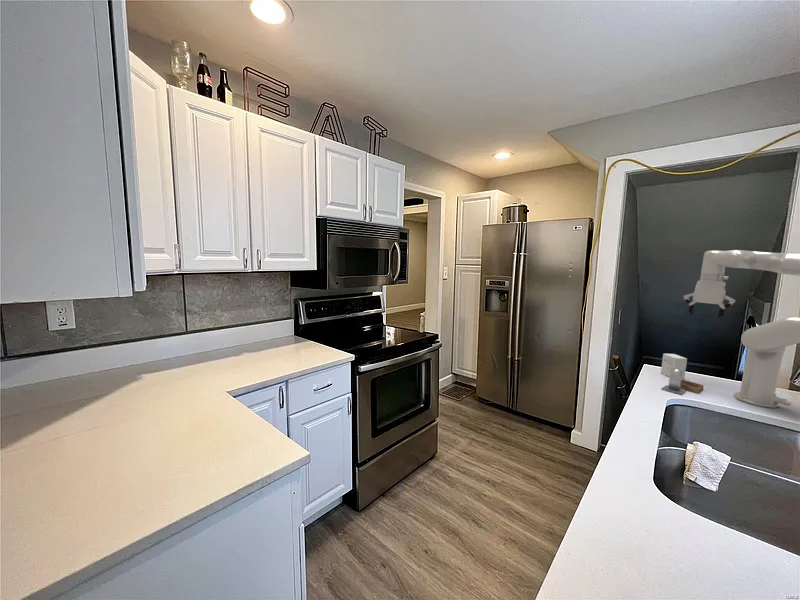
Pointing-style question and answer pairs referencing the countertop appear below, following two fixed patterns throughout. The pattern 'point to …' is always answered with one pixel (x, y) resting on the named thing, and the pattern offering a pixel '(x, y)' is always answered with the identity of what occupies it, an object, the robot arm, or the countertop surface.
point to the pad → (673, 391)
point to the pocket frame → (691, 386)
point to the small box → (673, 364)
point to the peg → (675, 379)
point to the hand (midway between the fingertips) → (705, 315)
